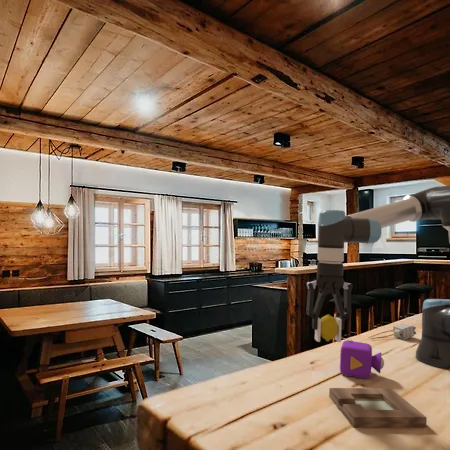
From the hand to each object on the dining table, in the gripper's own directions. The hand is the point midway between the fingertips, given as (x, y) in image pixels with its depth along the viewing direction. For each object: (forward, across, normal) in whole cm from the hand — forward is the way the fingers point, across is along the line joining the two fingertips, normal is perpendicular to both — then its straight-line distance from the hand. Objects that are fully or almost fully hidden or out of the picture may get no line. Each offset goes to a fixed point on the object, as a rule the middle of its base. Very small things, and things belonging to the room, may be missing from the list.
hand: (327, 340), depth 110 cm
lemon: (+1, 0, 0) cm, 1 cm away
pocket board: (+14, -8, +14) cm, 21 cm away
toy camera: (+14, -16, -11) cm, 24 cm away
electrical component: (+15, -49, -52) cm, 73 cm away
